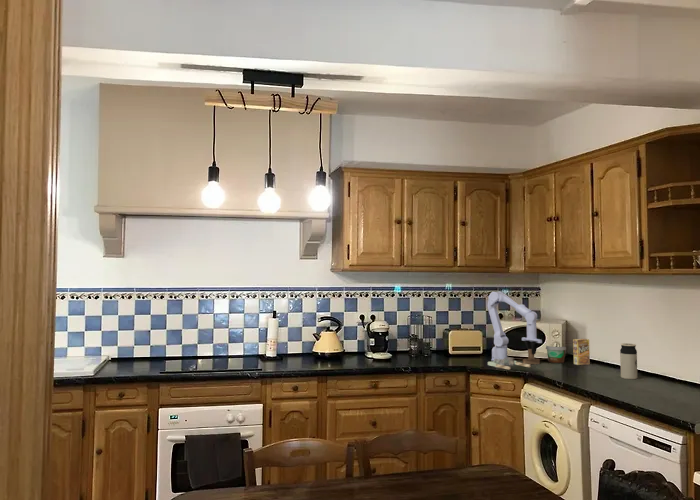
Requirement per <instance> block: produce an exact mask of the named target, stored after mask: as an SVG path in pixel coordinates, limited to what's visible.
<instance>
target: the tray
mask: <svg viewBox="0 0 700 500" xmlns="http://www.w3.org/2000/svg"><path fill="white" fill-rule="evenodd" d="M516 362H518V361H517V360H514V365H516ZM496 364H497V363H494V361H493V360H491V361H487V366H491V367H495V368H497V367H496ZM516 366H517V365H516Z"/></svg>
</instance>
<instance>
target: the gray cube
mask: <svg viewBox="0 0 700 500" xmlns="http://www.w3.org/2000/svg"><path fill="white" fill-rule="evenodd" d="M514 361H515V358H514V357H509V356H507V358H504V365H505V366H514V365H515V364H514Z"/></svg>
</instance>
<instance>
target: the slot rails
mask: <svg viewBox="0 0 700 500" xmlns="http://www.w3.org/2000/svg"><path fill="white" fill-rule="evenodd" d="M516 366H521V367H526V368H531V364H525V363H523V362H520V361H517V362H516ZM495 368H500V369H504V370H511V366H509V365H505V364H504V365H499V364H496V367H495Z"/></svg>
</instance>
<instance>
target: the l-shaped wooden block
mask: <svg viewBox="0 0 700 500" xmlns="http://www.w3.org/2000/svg"><path fill="white" fill-rule="evenodd" d="M527 353H528V355H527V358H524V359H522V363H525V364H530V365H540V358H535V354H532V349H528V350H527Z"/></svg>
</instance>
